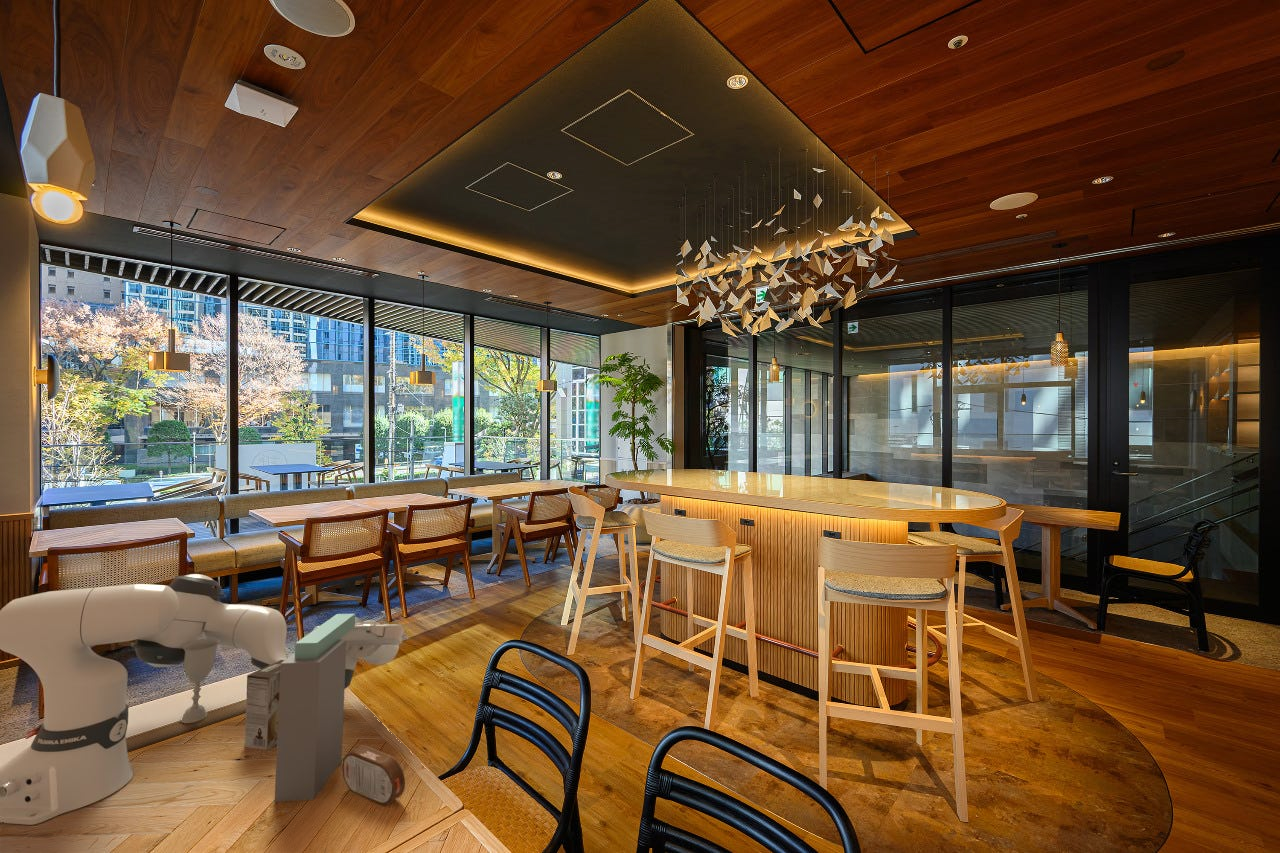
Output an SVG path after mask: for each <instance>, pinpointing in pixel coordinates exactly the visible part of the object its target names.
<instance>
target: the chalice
mask: <svg viewBox="0 0 1280 853" xmlns="http://www.w3.org/2000/svg"><path fill="white" fill-rule="evenodd" d="M219 642H220V640H218V639H215V638H201V639H200V638H199V639H198V640H195V641H192V642H189V643H187V644H185V645H184V646H183V649H184V650H185V659H184V662H183V668H184V672H185V675H186V677H187V678H188V680H189V682H190V683H192V684H194V689H192V692H193V696H192V697H191V700H192V702H193V703H192V704H191V706H189V707H188V708H187V709H186V710H184V713H183V715H182V717H181V718H182V720H181V719H180V722H181V723H184V724H191V723H196V722H199V721H202V720H203V719H205V718H207V717H208V713H207V711H206V709H205V707H204V706H203V705H202V704H200V703H199V699H200V698H201V696H202V695H200V691H201V690H202V688H201V682H204V681H205V679H206V678H207V677H208V676H209V674H210V672H211V670H212V669H213V667H214V664H215V662H216V658H217V657H216V656H217V647H218V645H219Z"/></svg>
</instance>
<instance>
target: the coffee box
mask: <svg viewBox="0 0 1280 853" xmlns="http://www.w3.org/2000/svg"><path fill="white" fill-rule="evenodd" d="M283 661H285V660H280V661H277V662H275V663H273V664H271V665H269V666H266V667H264V668H262V669H260V668H259V669H258V670H256V671H253V672H252V673H249V674H247V675H246V679H247V680H246V698H245V699H246V703H245V728H244V729H245V730H244V732H245V733H244V747H245V748H252V749H257V748H258V750H264V751H269V750H270V749H271V748H273V747H274V746H277V734H278V712H279V690H280V668H281V663H282V662H283Z"/></svg>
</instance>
